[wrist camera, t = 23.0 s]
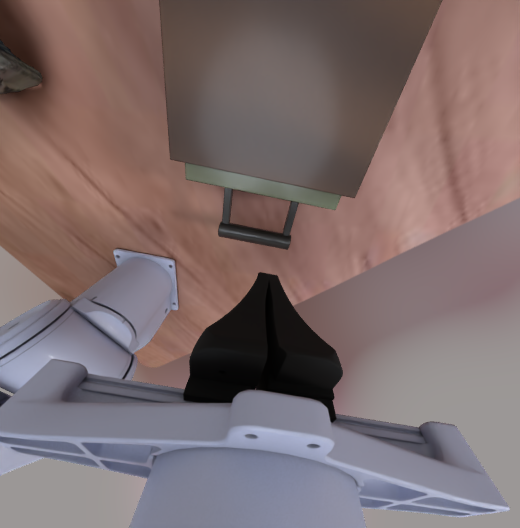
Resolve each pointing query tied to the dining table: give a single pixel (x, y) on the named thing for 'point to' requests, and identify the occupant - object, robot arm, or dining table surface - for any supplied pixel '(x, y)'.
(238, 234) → the drawer
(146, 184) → the dining table surface
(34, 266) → the dining table surface
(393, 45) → the cabinet
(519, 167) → the dining table surface
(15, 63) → the foil
